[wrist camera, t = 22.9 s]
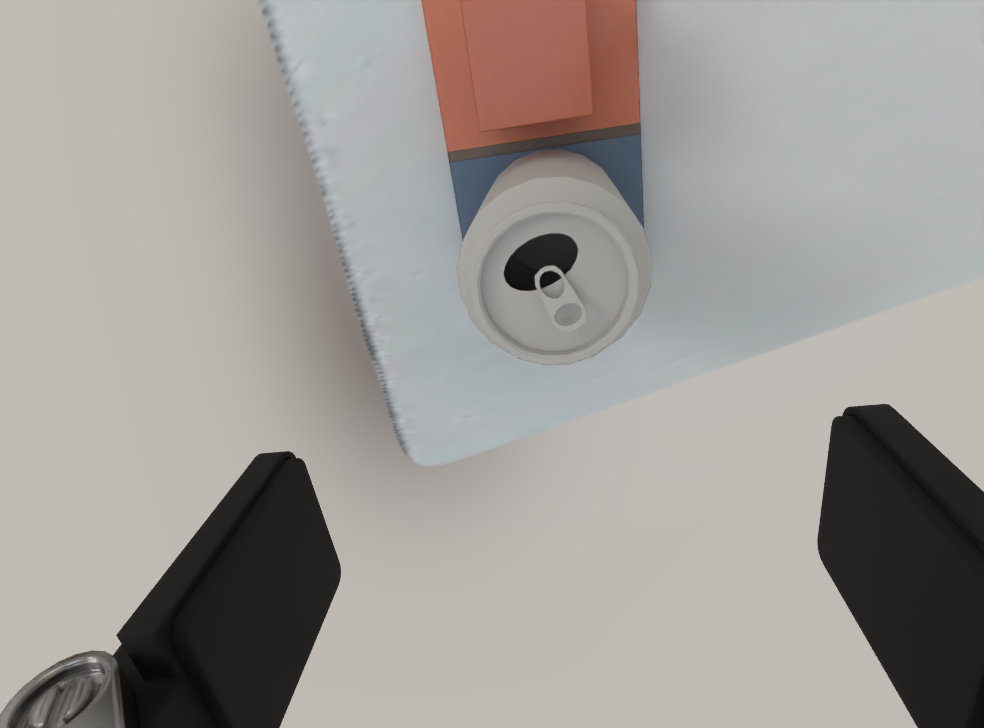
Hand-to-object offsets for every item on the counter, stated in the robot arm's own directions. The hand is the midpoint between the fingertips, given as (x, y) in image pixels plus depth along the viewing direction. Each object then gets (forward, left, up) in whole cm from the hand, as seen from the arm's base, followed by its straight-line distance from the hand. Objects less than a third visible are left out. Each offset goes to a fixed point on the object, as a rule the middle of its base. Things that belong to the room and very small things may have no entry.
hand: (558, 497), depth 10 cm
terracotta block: (0, -8, -24) cm, 25 cm away
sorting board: (0, -4, -24) cm, 25 cm away
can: (0, 0, -24) cm, 24 cm away
